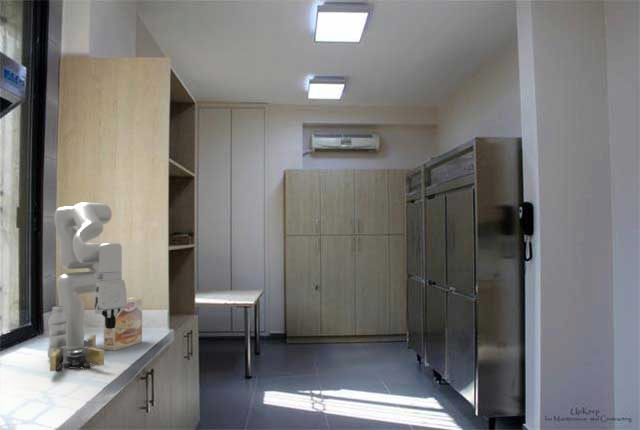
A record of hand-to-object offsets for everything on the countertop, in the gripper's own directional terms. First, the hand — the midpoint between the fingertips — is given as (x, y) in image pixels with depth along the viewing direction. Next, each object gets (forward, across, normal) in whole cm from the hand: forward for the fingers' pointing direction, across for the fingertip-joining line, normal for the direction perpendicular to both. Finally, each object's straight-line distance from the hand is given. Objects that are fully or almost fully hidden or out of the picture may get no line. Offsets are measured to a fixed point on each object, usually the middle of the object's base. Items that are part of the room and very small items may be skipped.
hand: (110, 328), depth 155 cm
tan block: (+14, -5, +3) cm, 15 cm away
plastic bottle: (+14, -4, +29) cm, 32 cm away
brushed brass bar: (+14, -14, +10) cm, 22 cm away
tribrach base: (+14, -5, +13) cm, 20 cm away
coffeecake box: (+14, +21, +25) cm, 35 cm away
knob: (+14, +3, +20) cm, 24 cm away
